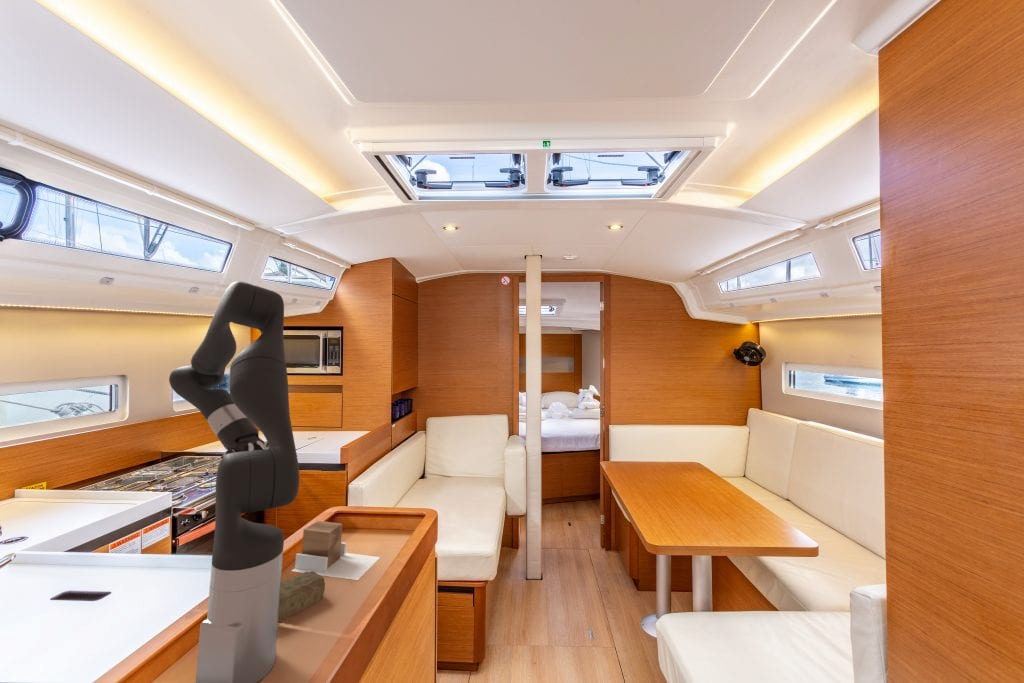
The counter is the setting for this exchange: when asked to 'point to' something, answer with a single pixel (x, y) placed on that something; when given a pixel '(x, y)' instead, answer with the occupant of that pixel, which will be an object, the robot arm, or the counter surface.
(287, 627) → the counter surface
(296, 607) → the stone block
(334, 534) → the walnut block
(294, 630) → the counter surface
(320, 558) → the white tray
